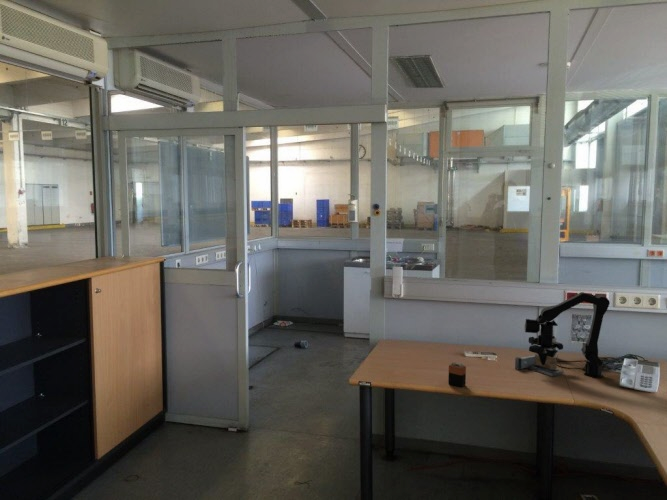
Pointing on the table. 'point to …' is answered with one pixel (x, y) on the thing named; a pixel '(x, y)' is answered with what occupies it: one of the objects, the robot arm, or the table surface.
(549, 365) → the bar
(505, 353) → the table surface
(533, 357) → the door
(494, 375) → the table surface
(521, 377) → the table surface
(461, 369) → the battery
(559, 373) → the keeper cradle
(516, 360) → the door frame
